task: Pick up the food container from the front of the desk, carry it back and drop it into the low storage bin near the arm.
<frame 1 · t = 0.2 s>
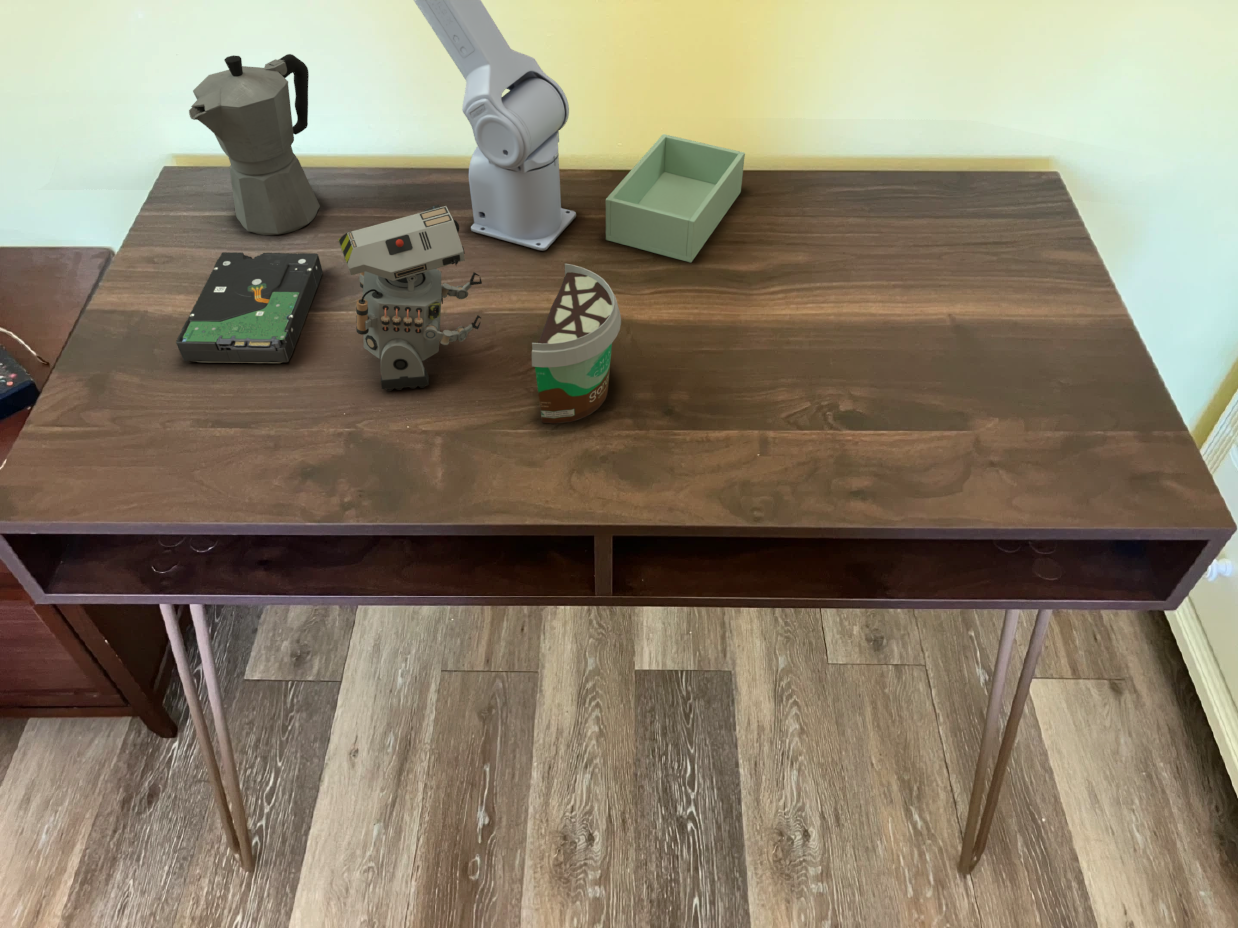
coffeepot: (286, 210, 108), on the table
storage bin: (675, 215, 107), on the table
food container: (587, 394, 87), on the table
figurine: (429, 358, 90), on the table
disk drive: (258, 318, 94), on the table
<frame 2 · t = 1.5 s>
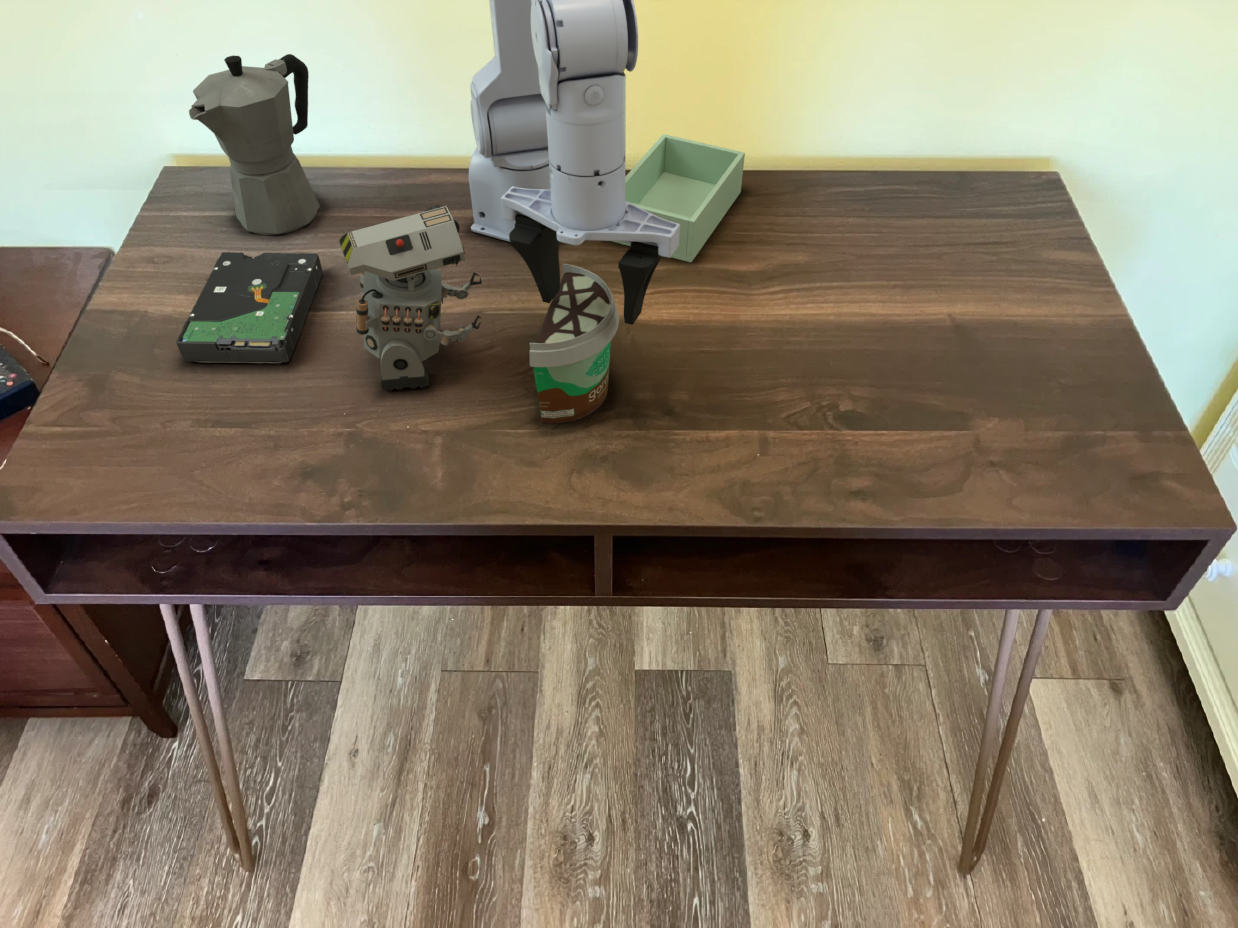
hand: (591, 306, 79), 10 cm above the table, tool pointing down, fingers open, 7 cm apart
food container: (587, 393, 87), on the table, touching gripper
everything else where it was.
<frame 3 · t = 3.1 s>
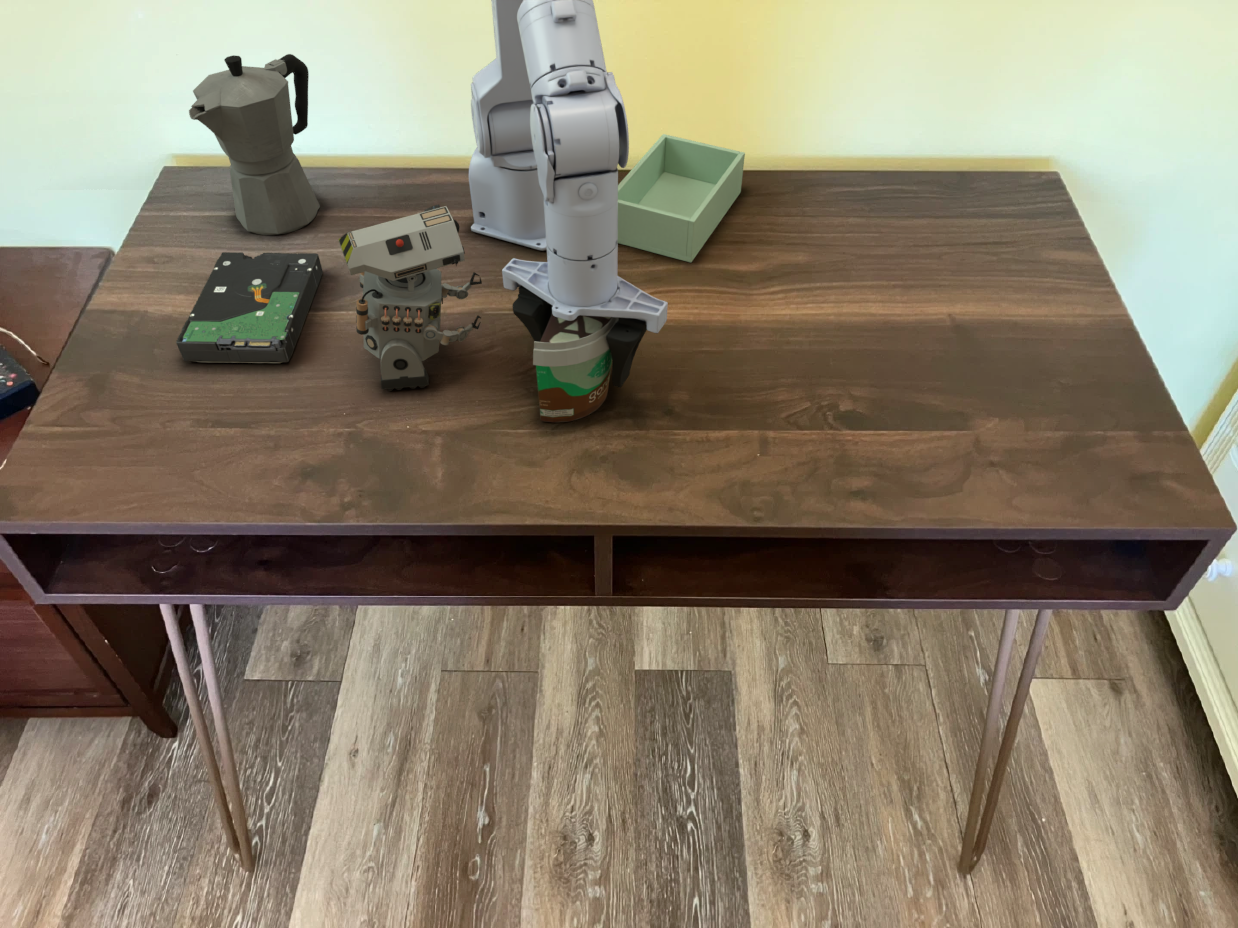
hand: (585, 368, 85), 3 cm above the table, tool pointing down, fingers closed on food container, 6 cm apart
food container: (586, 394, 87), on the table, touching gripper
everything else where it was.
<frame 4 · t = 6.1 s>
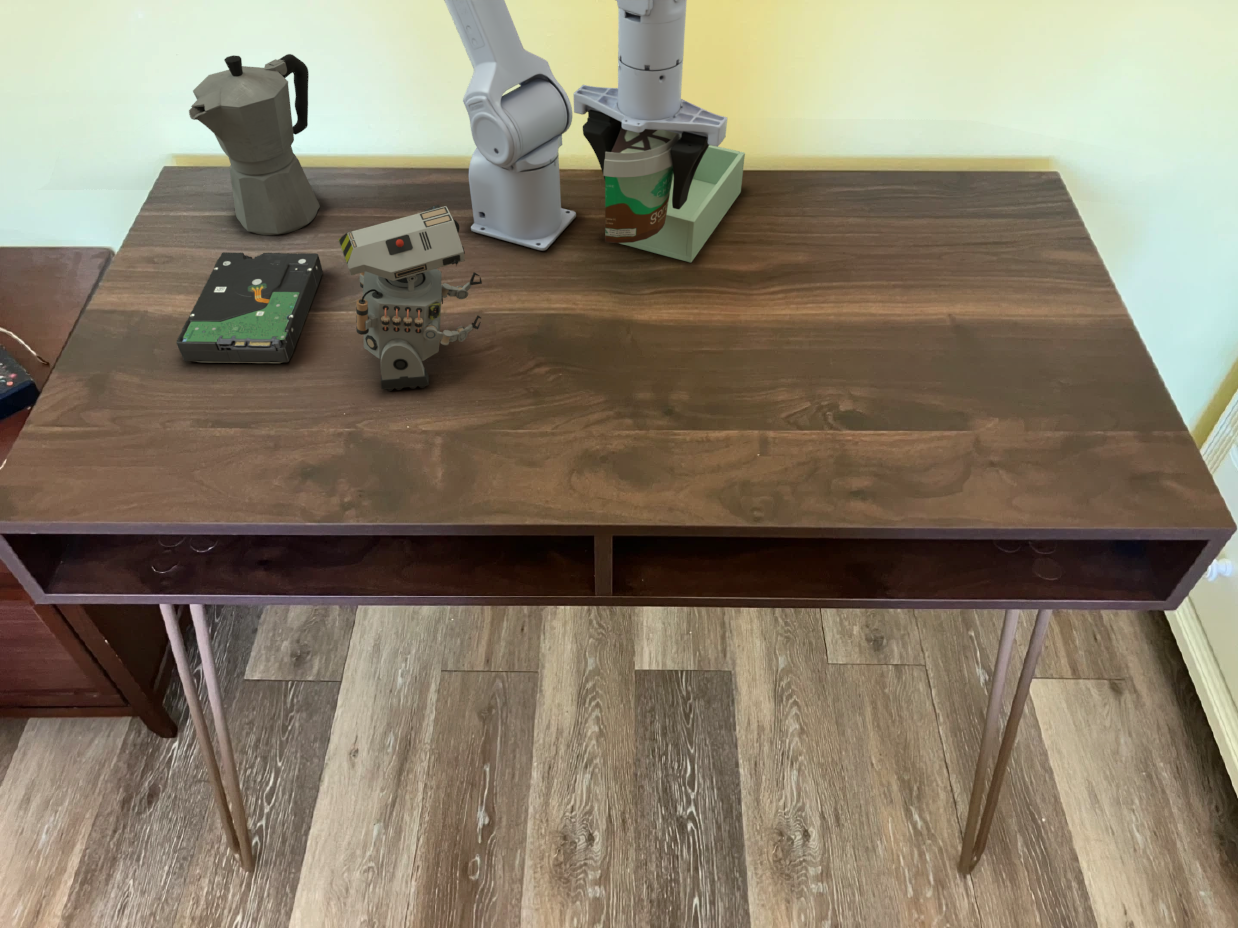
hand: (646, 195, 92), 10 cm above the table, tool pointing down, fingers closed on food container, 6 cm apart
food container: (646, 222, 94), point 7 cm above the table, touching gripper
everything else where it was.
when the fingers open (4 cm above the table, at t = 9.6 s): food container stays where it is, resting on storage bin.
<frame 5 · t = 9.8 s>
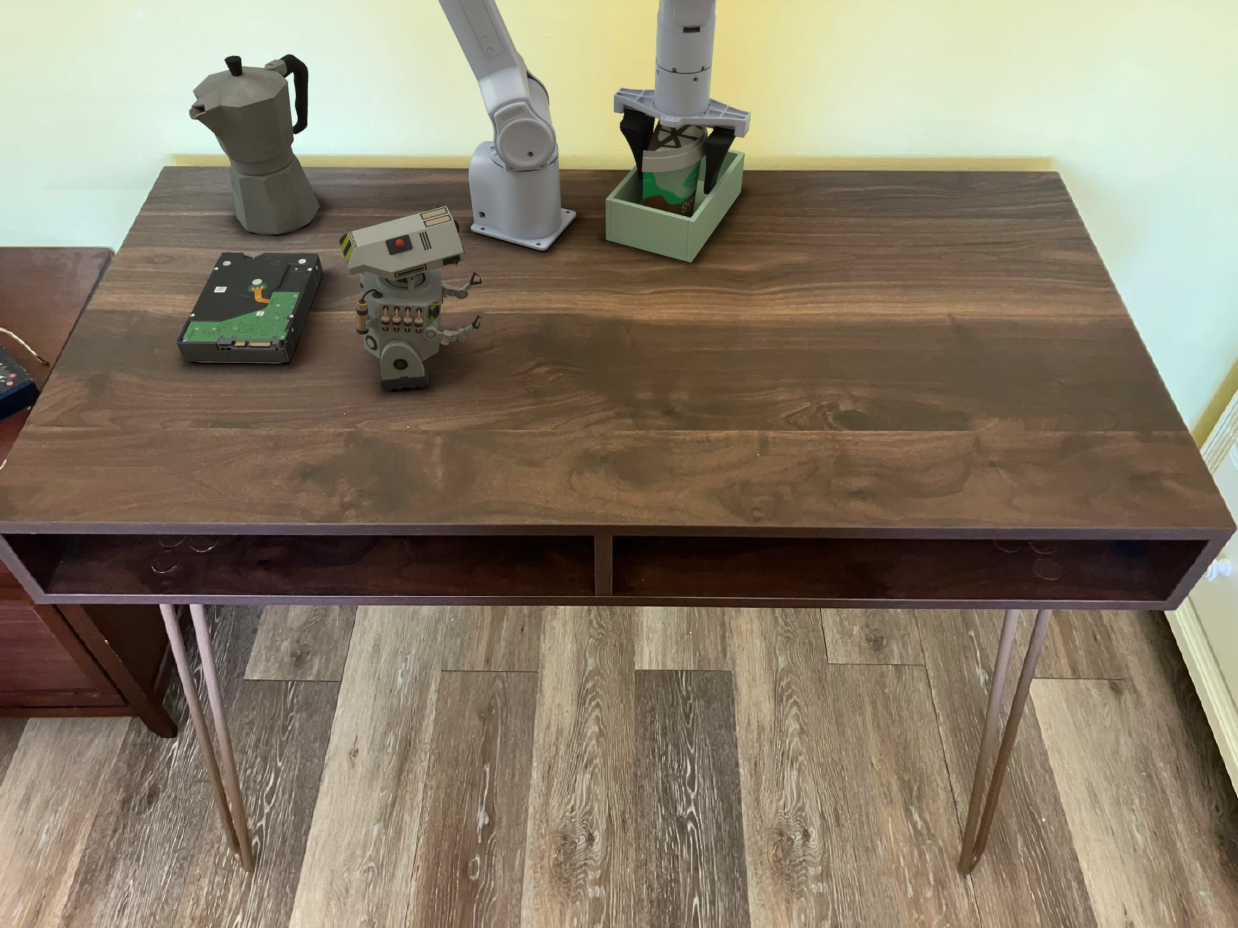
hand: (677, 182, 104), 4 cm above the table, tool pointing down, fingers open, 7 cm apart
food container: (676, 211, 107), resting on storage bin
everything else where it was.
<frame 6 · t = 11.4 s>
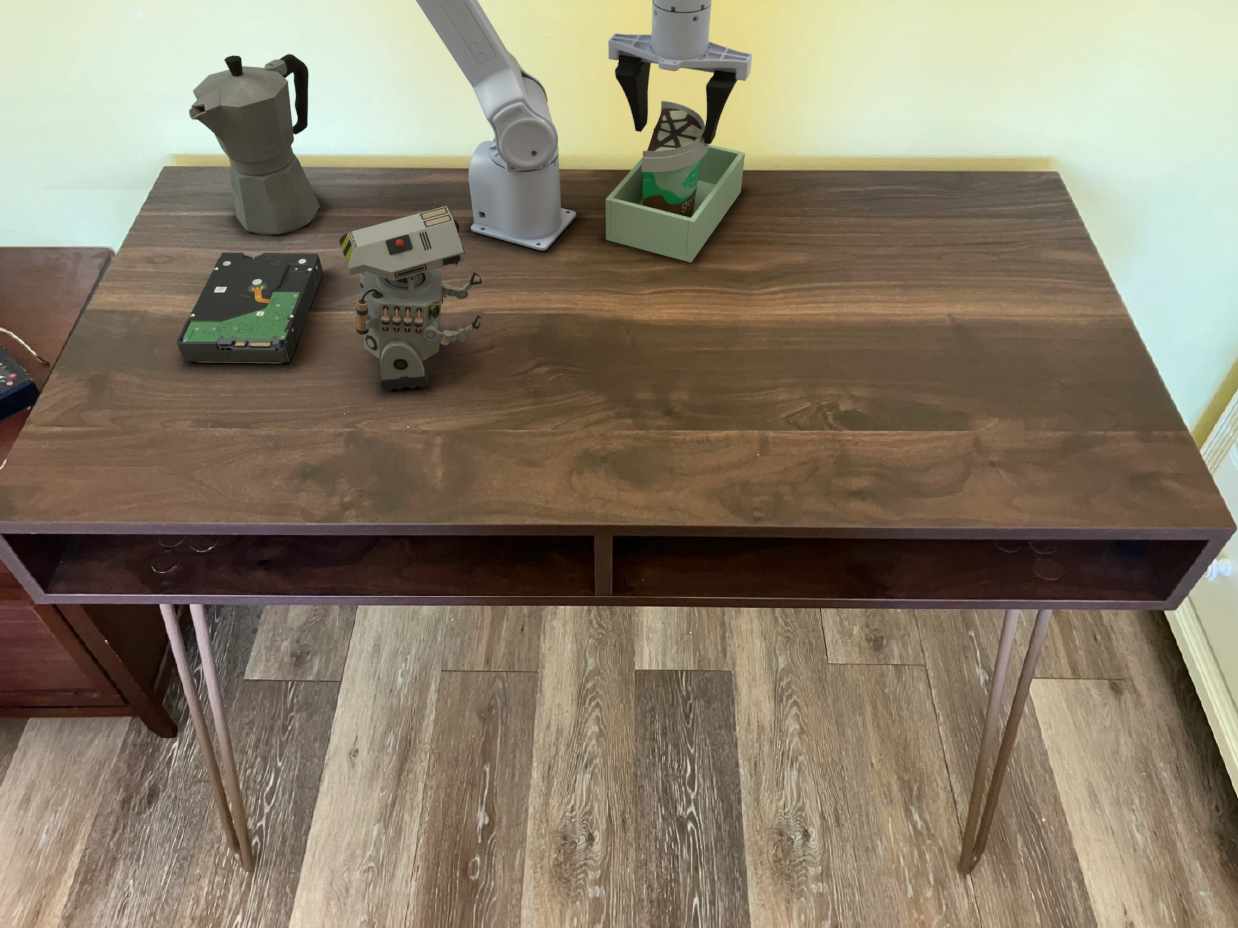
hand: (675, 133, 100), 10 cm above the table, tool pointing down, fingers open, 7 cm apart
food container: (676, 211, 107), resting on storage bin, touching gripper
everything else where it was.
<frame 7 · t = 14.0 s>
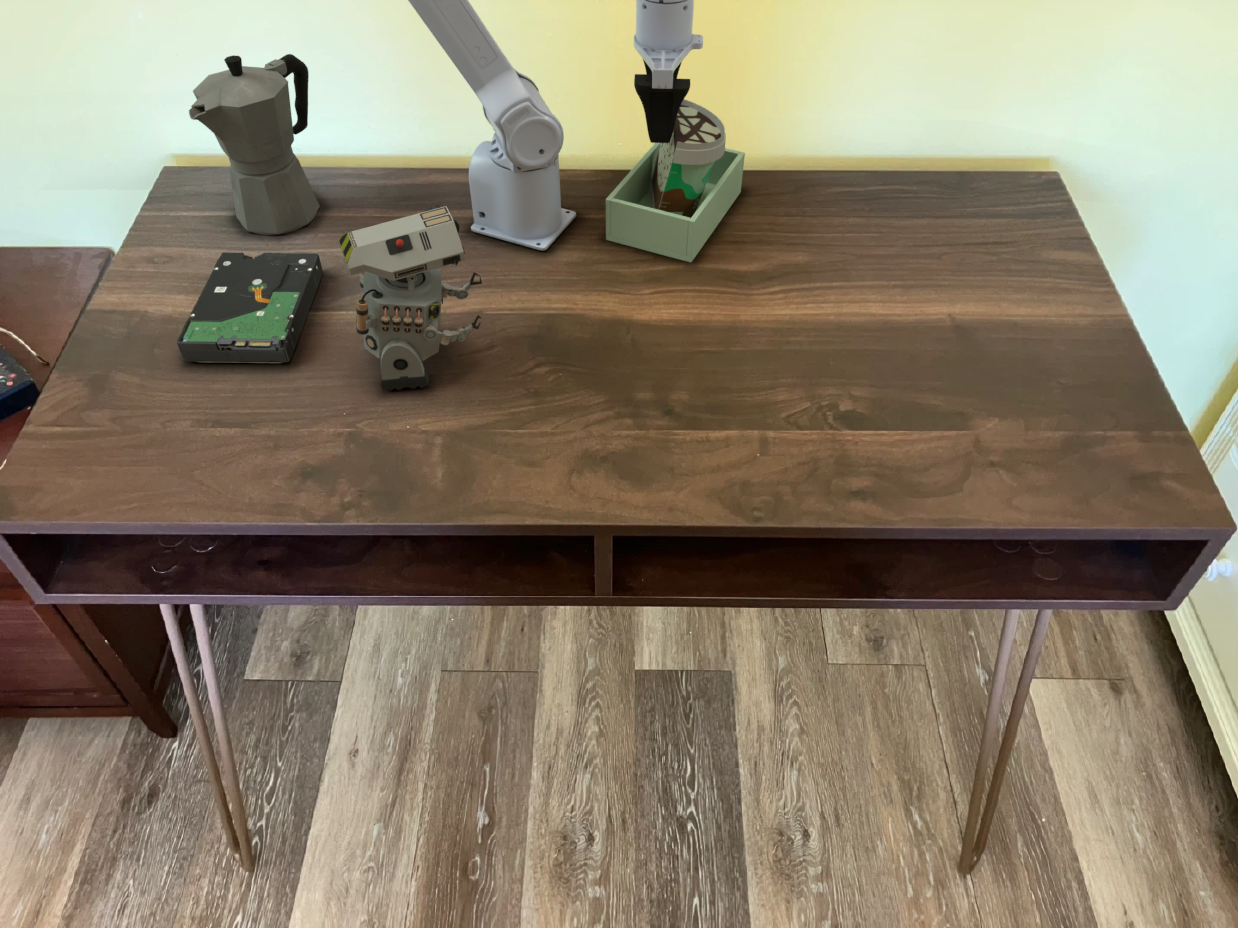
hand: (660, 123, 102), 10 cm above the table, tool pointing down
food container: (678, 208, 107), point 1 cm above the table, touching gripper, storage bin
everything else where it was.
when the fingers open (10 cm above the table, at t = 14.0 s): food container stays where it is, resting on storage bin.
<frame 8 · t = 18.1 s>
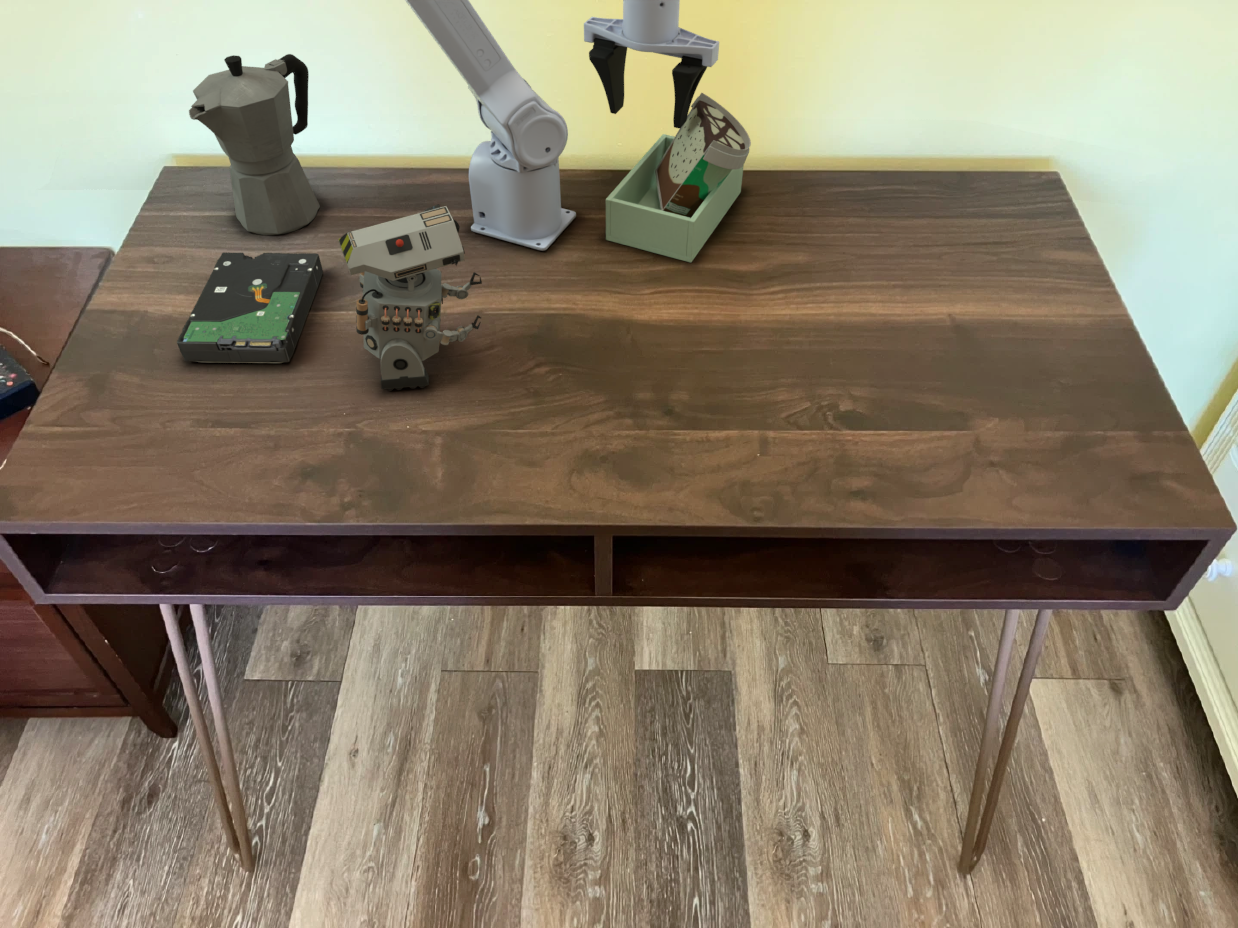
hand: (648, 116, 103), 9 cm above the table, tool pointing down, fingers open, 7 cm apart
food container: (679, 204, 106), point 1 cm above the table, touching storage bin
everything else where it was.
at the end: food container inside the target area in the storage bin (0.5 cm from its centre), point 1.4 cm above the storage bin's base; the gripper is holding nothing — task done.
